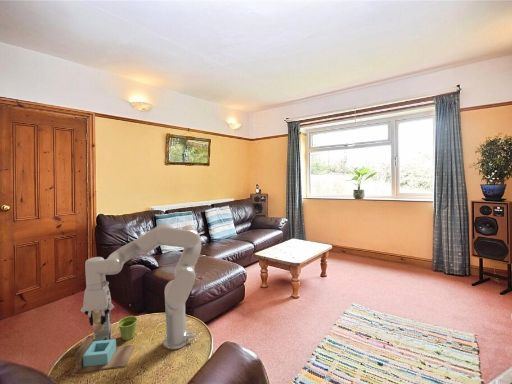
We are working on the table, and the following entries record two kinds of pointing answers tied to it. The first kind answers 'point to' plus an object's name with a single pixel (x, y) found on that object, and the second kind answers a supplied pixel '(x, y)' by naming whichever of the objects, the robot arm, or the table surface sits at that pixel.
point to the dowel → (97, 322)
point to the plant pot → (127, 327)
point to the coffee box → (105, 329)
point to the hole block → (99, 352)
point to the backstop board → (116, 361)
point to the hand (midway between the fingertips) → (98, 323)
